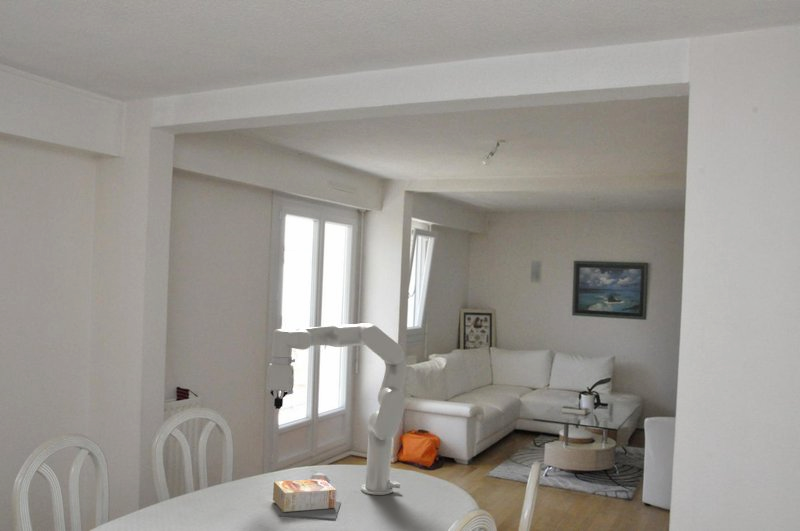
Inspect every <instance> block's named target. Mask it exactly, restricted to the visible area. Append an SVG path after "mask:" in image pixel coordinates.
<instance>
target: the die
mask: <svg viewBox="0 0 800 531" xmlns="http://www.w3.org/2000/svg"><path fill="white" fill-rule="evenodd" d="M313 479H324V480H326V481H327V482H328V483H329V484H330V485H331V483H330V481H331V480H330V479H329V477H328V476H327V475H326V474H324V473H322V472H316V473H314V474H312V475H310V478H309V479H308V480H313Z"/></svg>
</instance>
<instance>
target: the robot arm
mask: <svg viewBox="0 0 800 531" xmlns="http://www.w3.org/2000/svg"><path fill="white" fill-rule="evenodd" d="M313 346H326V347H327V346H329V347H333V348H334V347H335V348H344V347H355V346H366V347H367V348H368V349H370V351H372V352H373V353H374V354H376V355H377V356H378V357H379V358H380V359H381V360H382V361H383V362H384V365H385V370H384V374H383V375H384V376H383V379H382V382H381V385H380V389H379V392H378V395H377V401H378V404H379V406H380V407H379V410H377V411H374V412H373V413H372V414H371V415H370V416H369V419H368V424H367V439H368V440H367V452H366V453H367V454H366V468H365V472H366V473H365V483H364V484H362V485H361V487H360V489H361V491H362V492H363V493H365V494H369V495H372V496H373V495H374V496H385V495H390V494H392V493H393V490H394V489H401V483H399V482H398V481H392V480H391V477H390V476H391V472H390V471H391V462H392V460H391V459H392V449H393V448H392V447H393V446H392V445H393V444H392V442H393V441H392V439H394V438H395V437H396V435H397V434H398V431H399V428H400V424H401V421H402V417H403V415H404V412H405V408H406V397H405V395H404V393H403V388H404V385H405V380H406V378H407V377H406V375H407V369H408V368H407V362H406V358H405V355H404V354H405V353H404V349H403V348H402V346H401V345H400V344H399V343H398V342H396V341H395V340H394V339H393V338H391V337H390V336H389V335H387V334H386V333H385V332H384V331H383V330H381V329H380V328H379V327H378V326H377V325H375V324H372V323H355V324H342V325H330V326H315V327H302V328H298V329H296V330H290V329H287V328H285V329H284V328H278V329H274V331H273V335H272V347H271V348H272V350H271V363H269V366H268V369H267V374H266V382H265V383H266V384H265V393H267V394H271V396H272V397H273V398H274V400H273V401H274V402H273V403H274V404H273V406H274V409H276V410H277V409H278V410H281V408H283V404H284V398H285V397H286V396H287V395H293V393H294V385H295V384H294V382H295V380H294V377H295V375H294V374H295V372H294V371H295V370H294V365H293V363H296V359H295V358H292V352H293V349H294V350H295V349H296V350H301V351H304V350H308V349H309V348H311V347H313ZM279 391H280V395H279Z"/></svg>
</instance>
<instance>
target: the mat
mask: <svg viewBox="0 0 800 531" xmlns="http://www.w3.org/2000/svg"><path fill="white" fill-rule="evenodd" d="M341 503H342V502H341V501H336V505H335V508H329V509H316V510H303V511H291V512H283V510H282V509H281V508H280V511H279V512H278V517H287V518H300V519H301V518H302V519H313V520H314V519H315V520H327V521H328V520H329V521H336V519H337V516H338V513H339V510H340V508H341Z"/></svg>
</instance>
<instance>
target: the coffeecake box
mask: <svg viewBox="0 0 800 531" xmlns="http://www.w3.org/2000/svg"><path fill="white" fill-rule="evenodd" d="M272 501H273V502H274V503H275V504H276V505H277V506H278V507H279V508H280V510H281V509H282V510H283V512H291V511H303V510H316V509H329V508H335V505H336V502H337V489H336V488H335V487H334V486H332V484H331V483H330V484H329V483H328V482H327V481H326V480H324V479H313V480H309V479H300V480H299V479H297V480H285V481H284V480H282V481H281V480H280V481H279V480H278V481H273V492H272Z"/></svg>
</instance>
